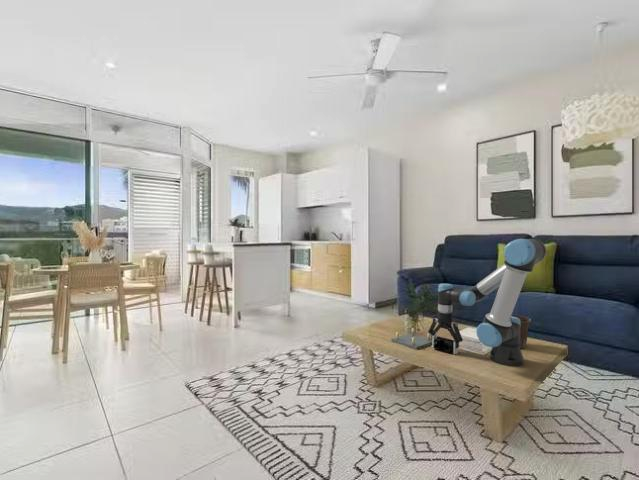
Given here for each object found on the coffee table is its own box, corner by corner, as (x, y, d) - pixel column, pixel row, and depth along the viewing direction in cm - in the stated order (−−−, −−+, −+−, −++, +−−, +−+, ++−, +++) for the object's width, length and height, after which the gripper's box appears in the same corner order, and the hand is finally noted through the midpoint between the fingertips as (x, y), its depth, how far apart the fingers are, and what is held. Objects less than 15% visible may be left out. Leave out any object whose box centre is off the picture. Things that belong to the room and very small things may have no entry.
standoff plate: (435, 343, 196) (435, 334, 196) (416, 349, 185) (416, 339, 185) (410, 335, 211) (410, 326, 210) (391, 341, 200) (391, 332, 200)
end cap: (456, 351, 183) (456, 339, 183) (450, 354, 178) (450, 342, 178) (439, 346, 191) (439, 335, 190) (433, 349, 186) (433, 337, 185)
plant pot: (523, 352, 182) (524, 323, 181) (493, 344, 194) (493, 317, 194) (534, 346, 192) (535, 318, 191) (504, 338, 204) (505, 312, 204)
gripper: (469, 315, 176) (469, 355, 177) (430, 306, 196) (429, 342, 197) (462, 317, 172) (461, 358, 172) (422, 308, 192) (421, 345, 192)
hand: (444, 350), depth 185 cm, fingers open, 12 cm apart
